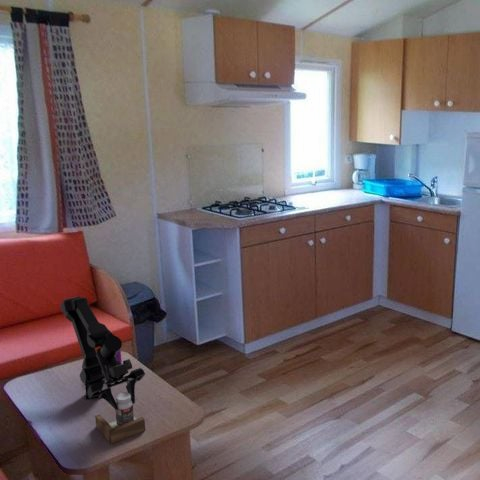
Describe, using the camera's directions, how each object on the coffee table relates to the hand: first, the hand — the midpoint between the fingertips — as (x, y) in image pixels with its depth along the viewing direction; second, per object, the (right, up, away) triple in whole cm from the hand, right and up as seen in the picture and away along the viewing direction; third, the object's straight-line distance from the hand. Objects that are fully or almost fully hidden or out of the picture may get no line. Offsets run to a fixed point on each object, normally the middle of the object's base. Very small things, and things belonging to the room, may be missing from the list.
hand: (125, 406), depth 171 cm
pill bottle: (-1, -6, +3) cm, 7 cm away
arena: (-2, -8, +2) cm, 8 cm away
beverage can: (-14, +1, +41) cm, 43 cm away
